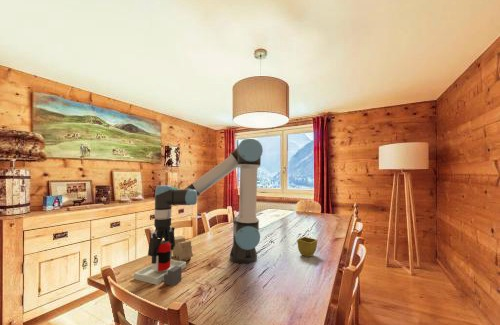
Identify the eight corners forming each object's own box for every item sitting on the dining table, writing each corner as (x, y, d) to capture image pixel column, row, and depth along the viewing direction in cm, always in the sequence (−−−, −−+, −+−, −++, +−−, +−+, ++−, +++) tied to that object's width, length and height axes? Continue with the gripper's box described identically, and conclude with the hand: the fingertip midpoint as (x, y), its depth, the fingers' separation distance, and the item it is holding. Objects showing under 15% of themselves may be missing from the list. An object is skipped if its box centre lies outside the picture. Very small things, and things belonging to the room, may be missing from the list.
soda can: (153, 266, 109) (153, 240, 109) (170, 263, 112) (170, 239, 112) (152, 272, 102) (153, 245, 102) (170, 269, 105) (171, 243, 105)
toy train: (182, 263, 117) (183, 244, 118) (171, 254, 131) (171, 236, 131) (192, 261, 121) (193, 242, 121) (180, 252, 134) (180, 235, 135)
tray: (186, 267, 113) (186, 262, 113) (156, 284, 95) (156, 278, 95) (165, 262, 118) (165, 258, 118) (134, 278, 100) (134, 273, 101)
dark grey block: (181, 280, 99) (181, 266, 100) (173, 286, 95) (173, 271, 95) (172, 278, 101) (172, 265, 101) (163, 283, 97) (164, 269, 97)
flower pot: (318, 255, 131) (317, 239, 131) (310, 259, 124) (310, 243, 125) (304, 251, 137) (304, 236, 137) (296, 255, 130) (296, 239, 131)
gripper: (171, 213, 119) (170, 257, 118) (139, 221, 100) (138, 274, 99) (183, 214, 116) (182, 260, 115) (152, 222, 97) (150, 277, 96)
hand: (161, 266), depth 107 cm, fingers closed on soda can, 7 cm apart
